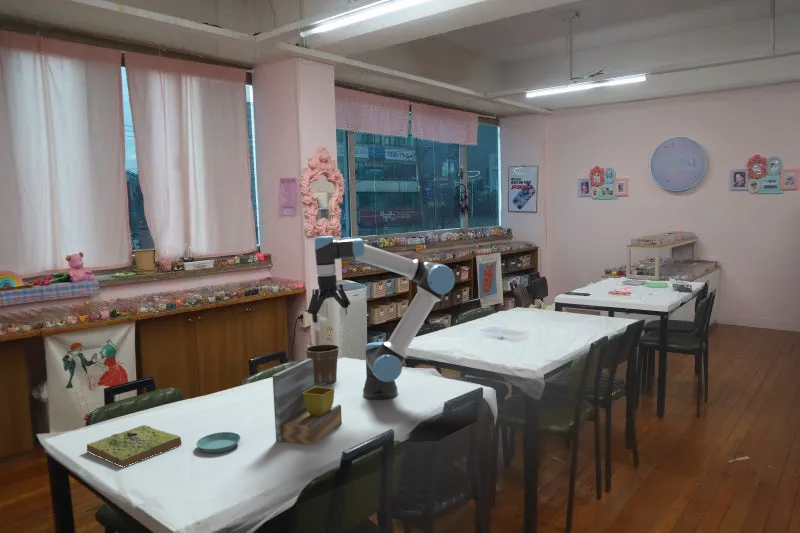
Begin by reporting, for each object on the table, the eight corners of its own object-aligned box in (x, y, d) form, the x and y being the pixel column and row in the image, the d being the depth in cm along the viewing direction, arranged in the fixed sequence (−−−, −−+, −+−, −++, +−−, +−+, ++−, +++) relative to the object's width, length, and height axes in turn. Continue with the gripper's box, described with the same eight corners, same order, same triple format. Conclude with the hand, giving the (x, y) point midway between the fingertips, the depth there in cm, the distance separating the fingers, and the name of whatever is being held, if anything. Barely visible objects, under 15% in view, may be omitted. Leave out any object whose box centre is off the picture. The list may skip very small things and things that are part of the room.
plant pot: (307, 377, 286) (305, 345, 285) (340, 375, 288) (339, 343, 286) (305, 386, 270) (304, 352, 269) (340, 384, 272) (339, 350, 270)
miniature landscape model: (122, 469, 188) (121, 454, 188) (86, 454, 202) (85, 440, 202) (182, 446, 206) (181, 432, 206) (145, 433, 220) (144, 420, 219)
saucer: (195, 443, 208) (194, 436, 207) (237, 436, 213) (237, 429, 213) (198, 459, 194) (198, 451, 194) (243, 451, 200) (243, 443, 199)
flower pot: (316, 409, 221) (315, 385, 220) (336, 411, 218) (335, 388, 217) (303, 416, 213) (302, 392, 212) (323, 419, 210) (322, 395, 209)
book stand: (343, 422, 223) (340, 361, 221) (310, 446, 201) (306, 378, 199) (311, 418, 228) (308, 358, 226) (276, 441, 206) (272, 375, 204)
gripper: (344, 270, 244) (348, 319, 247) (295, 279, 227) (300, 332, 229) (356, 270, 239) (360, 321, 242) (307, 279, 222) (312, 334, 224)
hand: (331, 326), depth 235 cm, fingers open, 13 cm apart
